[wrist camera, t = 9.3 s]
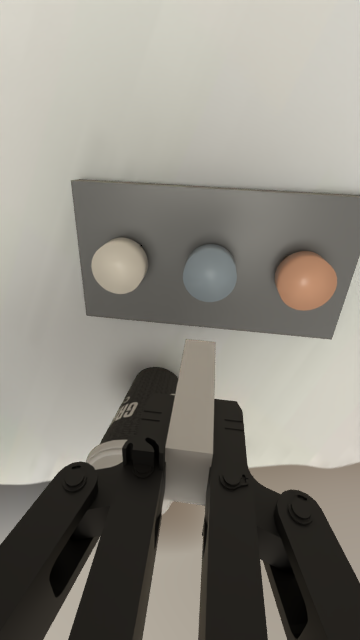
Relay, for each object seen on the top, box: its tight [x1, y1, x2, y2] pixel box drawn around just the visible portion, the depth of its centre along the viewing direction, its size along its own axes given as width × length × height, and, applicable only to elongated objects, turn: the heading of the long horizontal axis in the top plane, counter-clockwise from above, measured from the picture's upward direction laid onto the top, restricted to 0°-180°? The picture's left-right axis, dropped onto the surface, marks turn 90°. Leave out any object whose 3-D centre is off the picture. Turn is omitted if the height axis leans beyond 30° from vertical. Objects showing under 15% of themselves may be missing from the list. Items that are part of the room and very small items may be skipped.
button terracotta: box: [275, 251, 337, 311], centre depth 28 cm, size 5×5×4 cm
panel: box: [71, 179, 360, 339], centre depth 31 cm, size 27×14×2 cm, turn 87°
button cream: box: [91, 237, 148, 294], centre depth 30 cm, size 5×5×4 cm
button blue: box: [183, 244, 237, 302], centre depth 29 cm, size 5×5×4 cm
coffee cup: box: [86, 367, 178, 514], centre depth 34 cm, size 10×10×15 cm
